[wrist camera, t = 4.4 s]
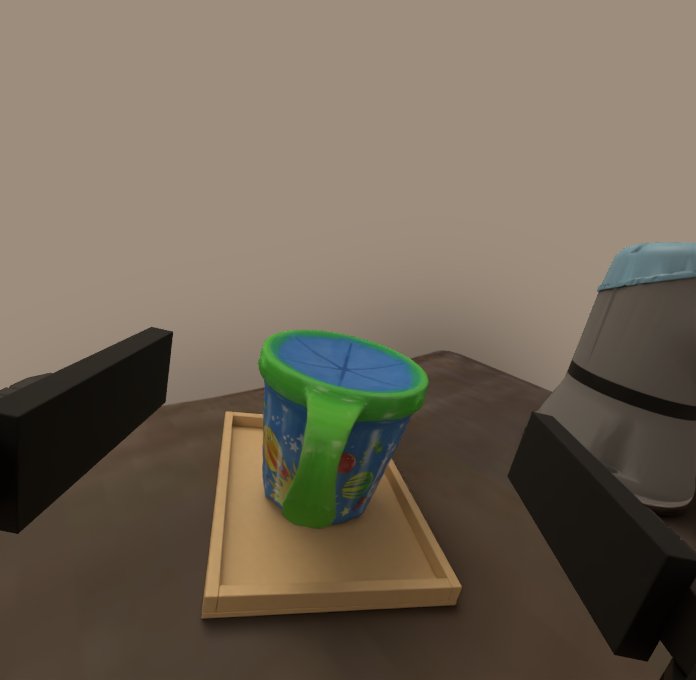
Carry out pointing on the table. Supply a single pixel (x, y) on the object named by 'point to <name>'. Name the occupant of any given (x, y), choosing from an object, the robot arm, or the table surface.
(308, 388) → the snack cup
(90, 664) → the table surface
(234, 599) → the tray
